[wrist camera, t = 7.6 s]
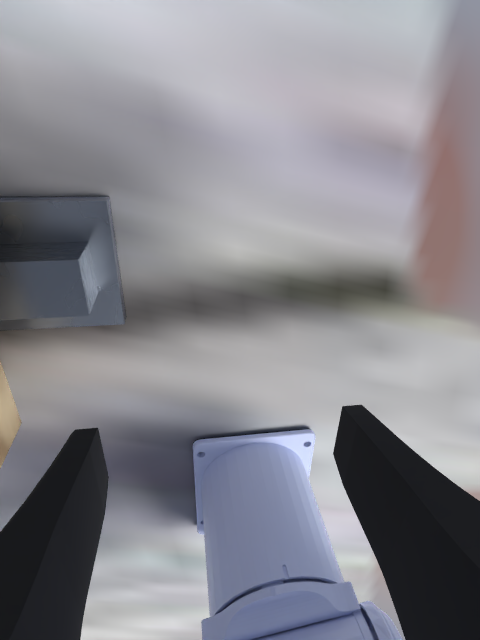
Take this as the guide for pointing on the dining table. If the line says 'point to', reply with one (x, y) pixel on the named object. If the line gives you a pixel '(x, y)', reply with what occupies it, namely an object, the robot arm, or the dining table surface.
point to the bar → (7, 417)
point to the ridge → (58, 263)
